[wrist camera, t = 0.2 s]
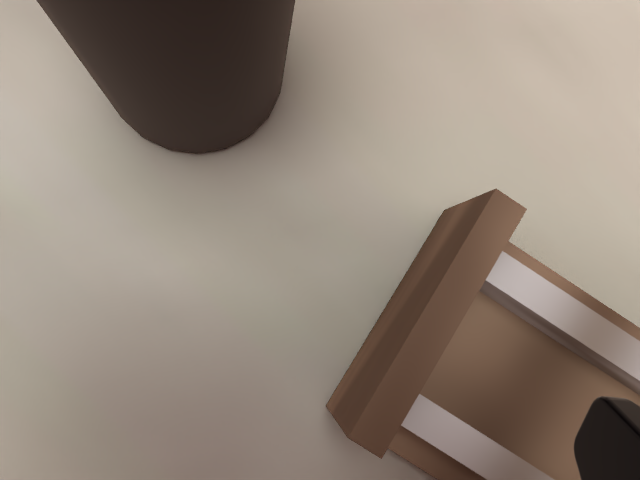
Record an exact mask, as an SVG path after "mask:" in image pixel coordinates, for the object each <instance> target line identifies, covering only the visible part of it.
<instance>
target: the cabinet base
mask: <svg viewBox="0 0 640 480" xmlns="http://www.w3.org/2000/svg"><path fill="white" fill-rule="evenodd" d="M526 210H527V209H526V208H524V207H523V206H521V205H520V204H518V203H517V202H515V201H514V200H512V199H511V198H509V197H508V196H506V195H505V194H503V193H502V192H500V191H499V190H497V189H494V190H492V191H489V192H487V193H484V194H482V195H480V196H477V197H475V198H472V199H470V200H468V201H465V202H463V203H460V204H458V205H456V206H453V207H451V208H448V209H446V210H444V212H443V213H442V215H441V217H440V218H439V220H438V221H437V223H436V225H435V226H434V228H433V230H432V231H431V233H430V235H429V236H428V238H427V240H426V241H425V243H424V245H423V246H422V248H421V250H420V251H419V253H418V255H417V256H416V258H415V259H414V261H413V263H412V264H411V266H410V268H409V269H408V271H407V273H406V274H405V276H404V278H403V279H402V281H401V283H400V284H399V286H398V288H397V289H396V291H395V292H394V294H393V296H392V297H391V299H390V301H389V302H388V304H387V306H386V307H385V309H384V311H383V312H382V314H381V316H380V317H379V319H378V321H377V322H376V324H375V326H374V327H373V329H372V330H371V332H370V334H369V335H368V337H367V339H366V340H365V342H364V344H363V345H362V347H361V349H360V350H359V352H358V354H357V355H356V357H355V359H354V360H353V362H352V363H351V365H350V367H349V368H348V370H347V372H346V373H345V375H344V377H343V378H342V380H341V382H340V383H339V385H338V387H337V388H336V390H335V392H334V393H333V395H332V397H331V398H330V400H329V401H328V403H327V405H326V407H327V408H328V410H329V411H330V412H331V414H332V415H333V417H334V418H335V420H336V421H337V423H338V424H339V426H340V427H341V429H342V430H343V431H344V433H345V434H346V436H347V437H348V438H349V439H351V440H352V441H354V442H355V443H357V444H359V445H360V446H362V447H363V448H365V449H367V450H368V451H370V452H371V453H373V454H375V455H376V456H378V457H379V458H381V459H382V457H383V455H384V454H385V452H386V450H387V448H388V449H390V450H391V451H393V452H395V453H396V454H398V455H399V456H401V457H403V458H404V459H406V460H407V461H409V462H410V463H412V464H414V465H415V466H417V467H418V468H420V469H422V470H423V471H425V472H426V473H428V474H430V475H431V476H433V477H434V478H436V479H438V480H581V477H580V474H579V470H578V467H577V463H576V460H575V455H574V441H575V437H576V435H577V433H578V431H579V429H580V426H581V424H582V422H583V420H584V418H585V416H586V414H587V412H588V410H589V408H590V406H591V404H592V402H593V401H594V400H595V399H596V398H598V397H601V396H609V397H618V398H626V399H629V400H631V401H633V402H634V403H635V404H637V405H638V406H640V328H639V327H637V326H636V325H634V324H633V323H631V322H630V321H628V320H627V319H625V318H624V317H622V316H621V315H619V314H618V313H616V312H615V311H613V310H612V309H610V308H609V307H607V306H606V305H604V304H603V303H601V302H600V301H598V300H597V299H595V298H593V297H592V296H590V295H589V294H587V293H586V292H584V291H583V290H581V289H580V288H578V287H577V286H575V285H574V284H572V283H571V282H569V281H568V280H566V279H565V278H563V277H562V276H560V275H559V274H557V273H556V272H554V271H553V270H551V269H550V268H548V267H547V266H545V265H543V264H542V263H540V262H539V261H537V260H536V259H534V258H533V257H531V256H530V255H528V254H527V253H525V252H524V251H522V250H521V249H519V248H518V247H516V246H515V245H513V244H512V243H510V242H509V239H510V237H511V236H512V234H513V232H514V230H515V229H516V227H517V225H518V223H519V222H520V220H521V218H522V217H523V215H524V213H525V211H526Z"/></svg>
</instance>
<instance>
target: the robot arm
mask: <svg viewBox="0 0 640 480" xmlns="http://www.w3.org/2000/svg"><path fill="white" fill-rule="evenodd" d="M574 455H575V460H576V463H577V467H578V470H579V474H580V477H581V480H640V406H638V405H637V404H635V403H634V402H633V401H631V400H629V399H626V398H618V397H609V396H601V397H598V398H596V399H595V400H594V401H593V402H592V404H591V406H590V408H589V410H588V412H587V414H586V416H585V418H584V420H583V422H582V424H581V426H580V429H579V431H578V433H577V435H576V437H575V441H574Z"/></svg>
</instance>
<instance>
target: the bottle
mask: <svg viewBox="0 0 640 480" xmlns="http://www.w3.org/2000/svg"><path fill="white" fill-rule="evenodd" d="M37 2H38V3H39V4H40V6H41V7H42V8H43V10H44V11H45V13H46V14H47V15H48V17H49V18H50V19H51V21H52V22H53V24H54V25H55V26H56V28H57V29H58V31H59V32H60V33H61V35H62V36H63V37H64V39H65V40H66V42H67V43H68V44H69V46H70V47H71V48H72V50H73V51H74V53H75V54H76V55H77V57H78V58H79V60H80V61H81V62H82V64H83V65H84V66H85V68H86V69H87V71H88V72H89V73H90V75H91V76H92V77H93V79H94V80H95V82H96V83H97V84H98V86H99V87H100V89H101V90H102V91H103V93H104V94H105V95H106V97H107V98H108V100H109V101H110V102H111V104H112V105H113V106H114V108H115V109H116V111H117V112H118V113H119V115H120V116H121V117H122V118H123V119H124V120H125V121H126V122H127V123H128V124H129V125H130V126H131V127H132V128H133V129H134V130H136V131H137V132H138V133H139V134H140V135H141V136H142V137H144V138H146V139H148V140H150V141H152V142H154V143H156V144H159V145H161V146H163V147H165V148H167V149H171V150H178V151H185V152H192V153H201V152H207V151H213V150H219V149H225V148H227V147H229V146H231V145H233V144H235V143H237V142H239V141H241V140H243V139H244V138H246V137H248V136H250V135H251V134H252V133H253V132H254V131H255V130H256V129H257V128H258V127H259V126H260V125H261V124H262V123H263V122H264V121H265V120H266V119H267V118H268V117H269V115H270V113H271V111H272V108H273V106H274V104H275V102H276V100H277V98H278V96H279V94H280V91H281V85H282V78H283V72H284V66H285V60H286V54H287V47H288V41H289V35H290V29H291V23H292V17H293V10H294V4H295V0H37Z"/></svg>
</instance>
